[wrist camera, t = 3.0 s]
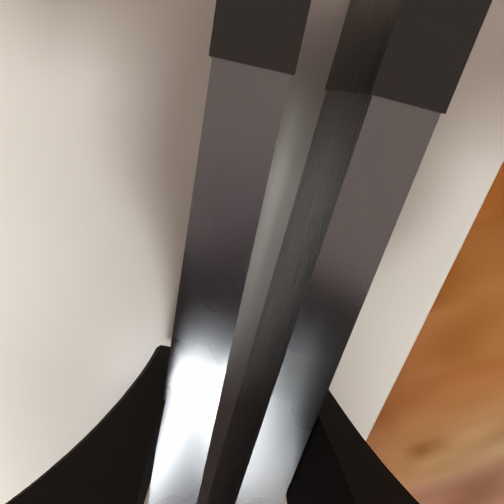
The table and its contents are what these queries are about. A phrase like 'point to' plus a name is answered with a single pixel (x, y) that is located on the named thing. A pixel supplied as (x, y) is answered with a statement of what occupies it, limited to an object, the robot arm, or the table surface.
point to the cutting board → (182, 212)
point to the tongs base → (341, 225)
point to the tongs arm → (223, 224)
